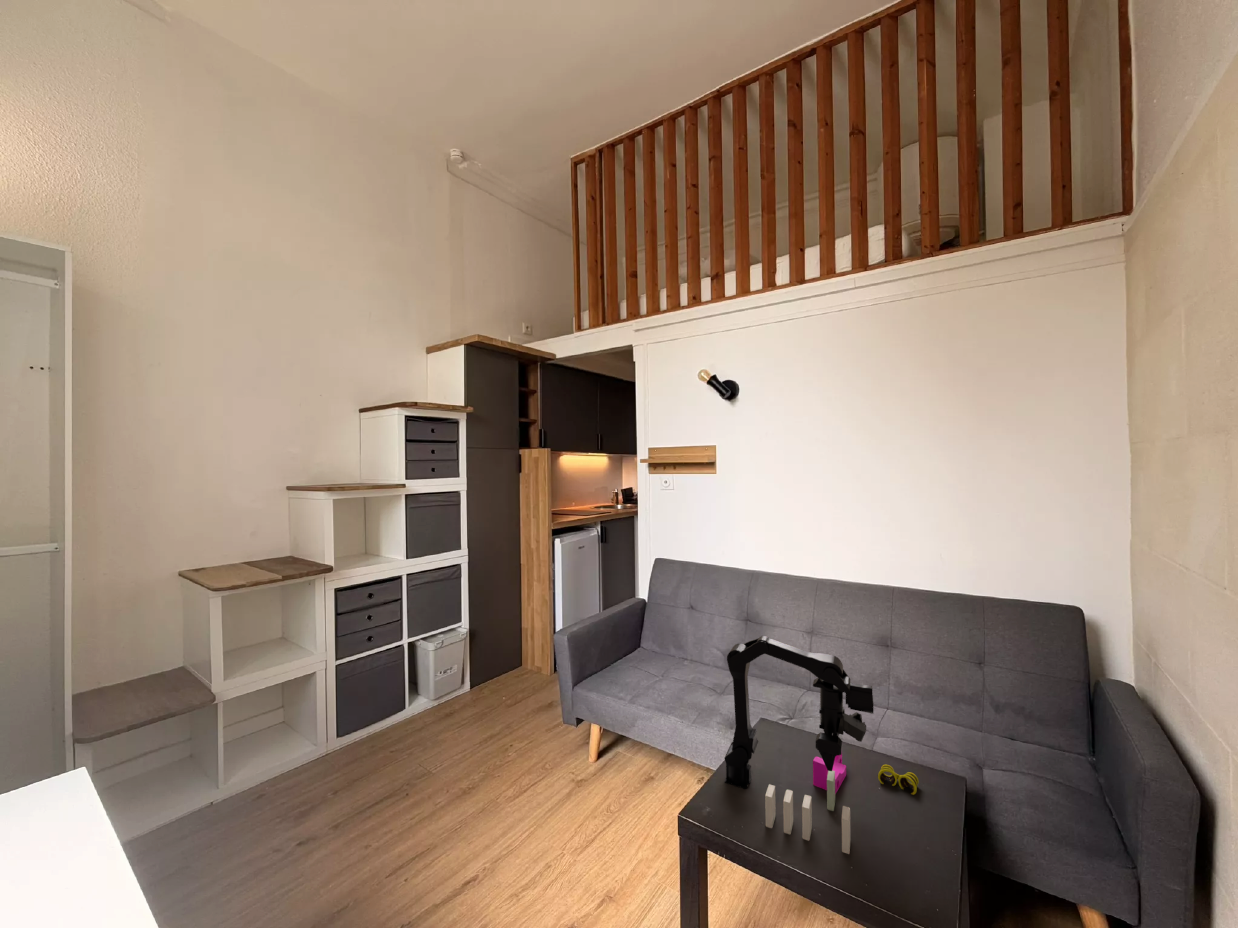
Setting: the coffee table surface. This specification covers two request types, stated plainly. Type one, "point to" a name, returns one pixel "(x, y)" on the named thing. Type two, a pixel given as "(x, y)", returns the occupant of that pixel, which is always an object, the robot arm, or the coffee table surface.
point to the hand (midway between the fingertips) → (831, 761)
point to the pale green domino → (831, 790)
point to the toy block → (822, 772)
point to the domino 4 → (846, 830)
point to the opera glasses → (901, 778)
